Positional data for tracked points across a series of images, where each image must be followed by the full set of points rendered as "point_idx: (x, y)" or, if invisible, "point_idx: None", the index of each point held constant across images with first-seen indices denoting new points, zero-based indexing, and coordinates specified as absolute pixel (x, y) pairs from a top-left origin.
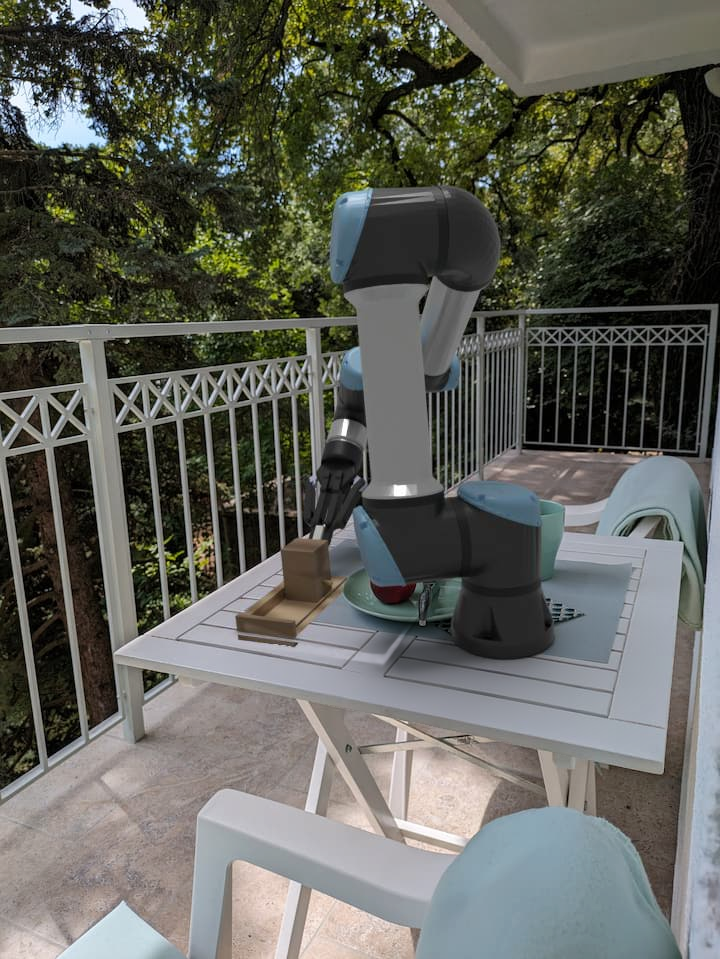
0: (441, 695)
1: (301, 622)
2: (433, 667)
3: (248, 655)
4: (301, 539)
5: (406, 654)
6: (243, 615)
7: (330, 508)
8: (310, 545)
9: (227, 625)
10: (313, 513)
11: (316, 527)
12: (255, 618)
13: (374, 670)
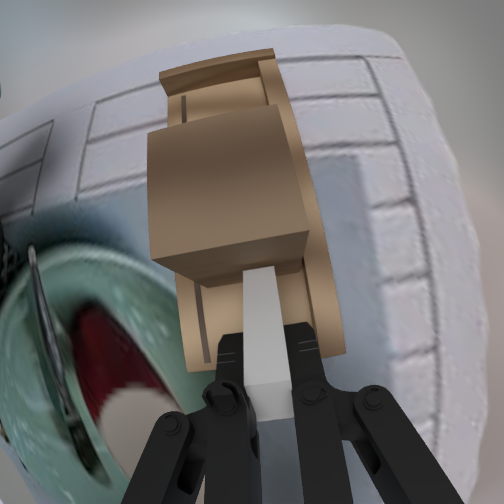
0: (13, 130)
1: None
2: (15, 162)
3: None
4: (273, 222)
5: (37, 167)
6: (260, 53)
7: (234, 492)
8: (189, 179)
9: (333, 102)
10: (376, 473)
11: (283, 369)
12: (231, 55)
13: (62, 121)
